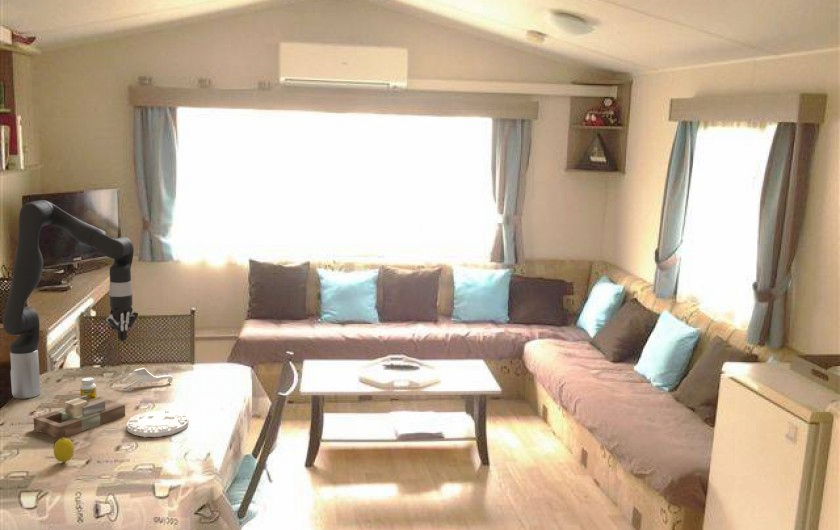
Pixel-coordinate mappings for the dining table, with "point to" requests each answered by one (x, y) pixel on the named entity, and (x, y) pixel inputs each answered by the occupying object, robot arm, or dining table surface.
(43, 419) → the walnut deck
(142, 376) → the llama figurine
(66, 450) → the lemon
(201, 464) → the dining table surface
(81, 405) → the maple block
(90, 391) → the supplement bottle
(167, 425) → the white flat round disc
